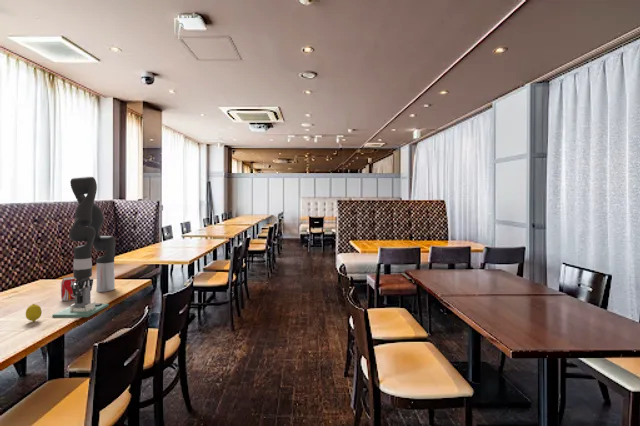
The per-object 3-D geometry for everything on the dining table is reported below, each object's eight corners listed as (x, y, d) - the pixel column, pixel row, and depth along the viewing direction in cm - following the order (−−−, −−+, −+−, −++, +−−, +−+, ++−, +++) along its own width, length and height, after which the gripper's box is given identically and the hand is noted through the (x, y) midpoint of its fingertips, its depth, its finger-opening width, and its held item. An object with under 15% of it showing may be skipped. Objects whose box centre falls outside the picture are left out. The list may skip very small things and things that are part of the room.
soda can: (68, 302, 187) (68, 279, 186) (57, 301, 188) (57, 279, 188) (80, 298, 194) (80, 277, 193) (69, 297, 195) (69, 276, 195)
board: (77, 305, 181) (77, 297, 180) (108, 305, 182) (108, 297, 181) (52, 317, 163) (52, 308, 162) (87, 317, 164) (87, 308, 163)
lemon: (31, 319, 159) (31, 302, 159) (44, 319, 159) (44, 302, 159) (22, 323, 153) (22, 305, 153) (35, 323, 154) (35, 305, 154)
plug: (80, 304, 173) (80, 286, 173) (90, 304, 173) (90, 286, 173) (74, 306, 169) (74, 288, 169) (85, 306, 169) (85, 288, 169)
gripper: (83, 264, 177) (83, 298, 178) (65, 270, 163) (65, 306, 164) (99, 264, 178) (99, 298, 178) (81, 270, 164) (81, 306, 164)
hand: (82, 301), depth 171 cm, fingers closed on plug, 4 cm apart
